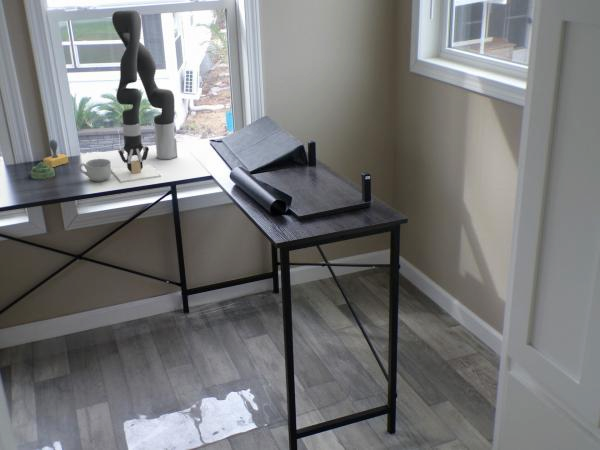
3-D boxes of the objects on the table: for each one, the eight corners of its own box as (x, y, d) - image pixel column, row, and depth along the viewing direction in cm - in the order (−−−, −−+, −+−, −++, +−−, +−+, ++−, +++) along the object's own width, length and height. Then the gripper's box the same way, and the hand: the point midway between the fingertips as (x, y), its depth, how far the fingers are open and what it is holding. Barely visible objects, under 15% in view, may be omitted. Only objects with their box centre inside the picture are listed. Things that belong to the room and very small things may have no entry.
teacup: (115, 176, 302) (114, 159, 299) (107, 184, 292) (105, 166, 289) (86, 174, 303) (83, 157, 300) (76, 182, 294) (74, 165, 290)
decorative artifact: (33, 173, 305) (30, 180, 296) (30, 158, 303) (27, 165, 294) (56, 171, 307) (53, 178, 298) (53, 157, 305) (51, 163, 296)
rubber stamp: (60, 160, 322) (57, 136, 317) (68, 162, 320) (65, 138, 315) (43, 166, 314) (39, 141, 310) (52, 168, 312) (48, 143, 307)
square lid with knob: (149, 165, 317) (148, 153, 314) (160, 176, 302) (159, 164, 300) (111, 171, 309) (109, 159, 306) (121, 182, 294) (119, 170, 292)
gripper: (145, 129, 304) (148, 165, 311) (114, 133, 298) (117, 169, 305) (150, 133, 298) (152, 170, 305) (118, 137, 292) (121, 174, 298)
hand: (135, 169), depth 305 cm, fingers closed on square lid with knob, 4 cm apart
